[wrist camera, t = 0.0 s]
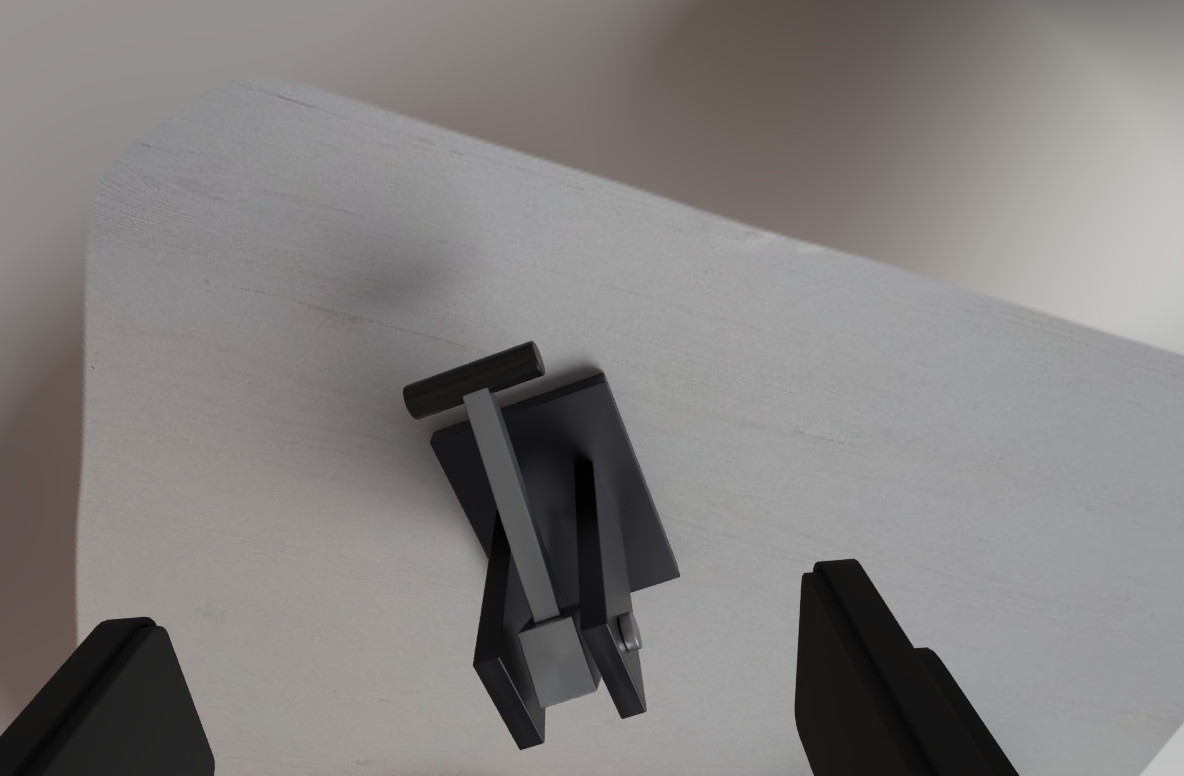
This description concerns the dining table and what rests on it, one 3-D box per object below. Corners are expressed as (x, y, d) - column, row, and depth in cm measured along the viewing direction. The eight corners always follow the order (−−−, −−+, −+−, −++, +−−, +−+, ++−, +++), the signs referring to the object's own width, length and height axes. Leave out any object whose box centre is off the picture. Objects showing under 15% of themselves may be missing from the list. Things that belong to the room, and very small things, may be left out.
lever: (416, 388, 30) (393, 383, 27) (539, 344, 29) (526, 336, 27) (513, 698, 28) (497, 722, 26) (643, 658, 28) (640, 678, 26)
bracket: (433, 432, 35) (370, 600, 24) (603, 371, 35) (627, 515, 23) (523, 612, 40) (508, 830, 28) (676, 563, 39) (727, 766, 27)
